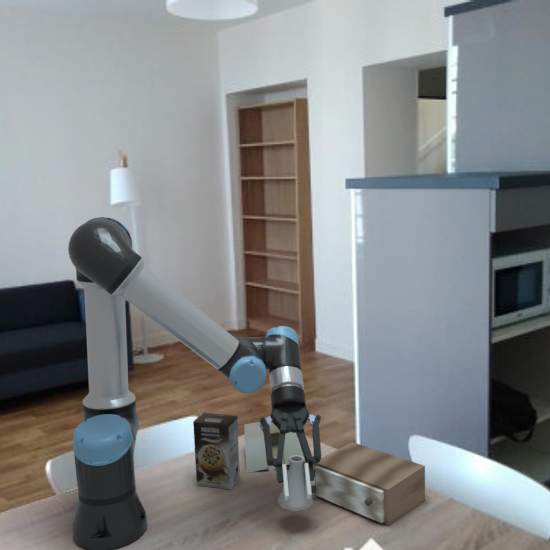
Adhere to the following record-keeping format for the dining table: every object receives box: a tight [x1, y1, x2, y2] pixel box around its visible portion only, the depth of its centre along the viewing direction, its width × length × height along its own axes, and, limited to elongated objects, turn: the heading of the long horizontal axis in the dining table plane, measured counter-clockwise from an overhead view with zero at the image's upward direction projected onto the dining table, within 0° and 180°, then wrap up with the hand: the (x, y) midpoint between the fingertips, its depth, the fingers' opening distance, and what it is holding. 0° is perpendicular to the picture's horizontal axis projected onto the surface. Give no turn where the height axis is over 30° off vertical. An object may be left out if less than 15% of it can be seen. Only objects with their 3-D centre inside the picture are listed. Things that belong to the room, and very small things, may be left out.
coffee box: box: [192, 412, 241, 490], centre depth 155 cm, size 9×6×16 cm
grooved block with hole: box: [243, 421, 306, 473], centre depth 169 cm, size 16×9×15 cm
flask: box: [276, 455, 315, 513], centre depth 135 cm, size 7×7×10 cm
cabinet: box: [311, 441, 426, 527], centre depth 145 cm, size 20×16×8 cm
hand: (297, 497), depth 131 cm, fingers closed on flask, 4 cm apart
